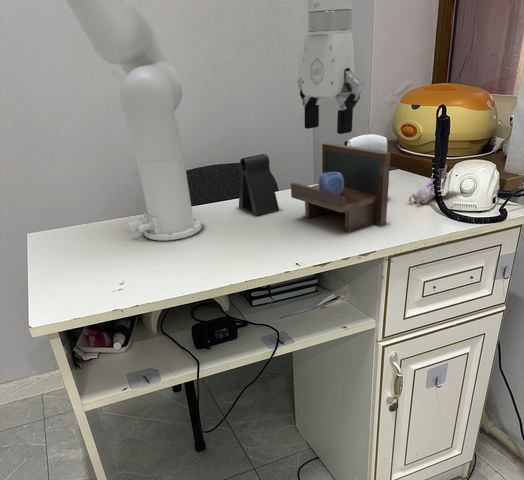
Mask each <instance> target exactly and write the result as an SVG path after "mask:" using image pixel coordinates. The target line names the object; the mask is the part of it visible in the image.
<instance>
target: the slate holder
mask: <svg viewBox="0 0 524 480" xmlns="http://www.w3.org/2000/svg"><path fill="white" fill-rule="evenodd" d="M321 149H322V150H321V155H322V157H321V159H322V160H321V161H322V163H321V164H322V165H321V166H322V167H321V168H322V169H321V170H322V172H321V175H322V174H323V173H326V172H339V173H341V174H342V176H343V179H344V189H343V191H342V193H341V194H340V195H339V194H335V193H331V192H328V191H324V190H320V189H319V184H315V185H311V186H309V185H305V184H302V183H297V182H291V183H290V196H291V197H290V198H292V199H296V200H299V201H303V202H304V211H305V212H304V216H305V218H308V219H309V218H313V217H316V216H320V215H323V214H326V213H330V212H335V213H338V214H339V213H340V214H343V215H344V231H345V232H348V233H350V232H353V231H355V230H359V229H362V228H365V227H368V226H371V225H376V226H379V227H381V226H384V225H387V217H388V216H387V215H388V202H389V201H388V198H389V184H390V183H389V182H390V168H391V152H390V151H389V152H388V151H387V152H383V151H376V150H370V149H364V148H358V147H351V146H347V145H344V144H339V143H333V142H324V143H321Z"/></svg>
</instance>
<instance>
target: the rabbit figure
mask: <svg viewBox="0 0 524 480" xmlns="http://www.w3.org/2000/svg"><path fill="white" fill-rule="evenodd" d="M433 175H434V174H432V175H431V176H430V180H429V181H428V182H427V184H426V185H425V186H424V188H422V189H418V190H417V192H416V193H412V194H411V195H410V196H409V199H408V202H409V204H411V203H412V198H413V201H414V202H416V204H415V205H418V207H419V206H420V204H422V205H425V204H427V203H428V202H429V201H430V199H433V198H434V197H435V194H434V188H433ZM440 179H441V187H442V183H443V181H444V178H440Z"/></svg>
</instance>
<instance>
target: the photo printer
mask: <svg viewBox="0 0 524 480" xmlns="http://www.w3.org/2000/svg"><path fill="white" fill-rule="evenodd" d="M346 146H351V147H358V148H364V149H370V150H382V151H385V152H388V139H387V137H385V136H383V135H381V134H372V133H369V134H362V135H358V136H355V137H352V138H350V139H349V140H348V141H347V144H346Z"/></svg>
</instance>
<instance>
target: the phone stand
mask: <svg viewBox="0 0 524 480" xmlns="http://www.w3.org/2000/svg"><path fill="white" fill-rule="evenodd" d="M239 166H240V180H239V193H238V194H239V195H238V196H239V197H238V208H239V209H240V210H242V211H245V212H247V213H249V214H251V215H254V216H256V217H258V216H262V215H266V214H269V213H273V212H277V211H279V210H280V208H279V207H280V206H279V204H278V198H277V194H276V190H275V185H274V181H273V177H272V174H271V168H270V158H269V156H268V154H265V153H262V154H255V155H252V156H247V157H241V158H240V160H239Z"/></svg>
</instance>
